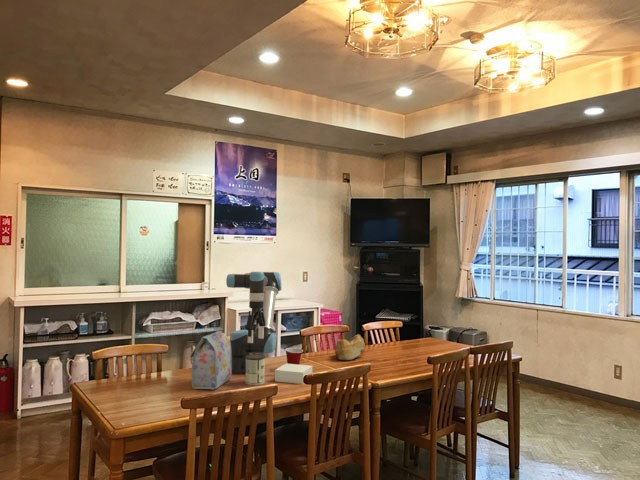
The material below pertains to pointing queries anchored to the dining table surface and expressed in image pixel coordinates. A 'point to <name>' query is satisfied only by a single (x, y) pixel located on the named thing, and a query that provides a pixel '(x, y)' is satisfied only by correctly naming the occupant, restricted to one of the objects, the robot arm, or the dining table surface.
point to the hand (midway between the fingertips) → (255, 340)
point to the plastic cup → (293, 355)
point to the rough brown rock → (349, 348)
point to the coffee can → (255, 369)
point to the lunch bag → (211, 361)
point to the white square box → (292, 373)
